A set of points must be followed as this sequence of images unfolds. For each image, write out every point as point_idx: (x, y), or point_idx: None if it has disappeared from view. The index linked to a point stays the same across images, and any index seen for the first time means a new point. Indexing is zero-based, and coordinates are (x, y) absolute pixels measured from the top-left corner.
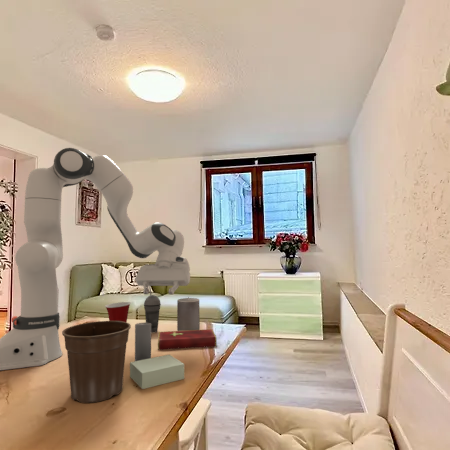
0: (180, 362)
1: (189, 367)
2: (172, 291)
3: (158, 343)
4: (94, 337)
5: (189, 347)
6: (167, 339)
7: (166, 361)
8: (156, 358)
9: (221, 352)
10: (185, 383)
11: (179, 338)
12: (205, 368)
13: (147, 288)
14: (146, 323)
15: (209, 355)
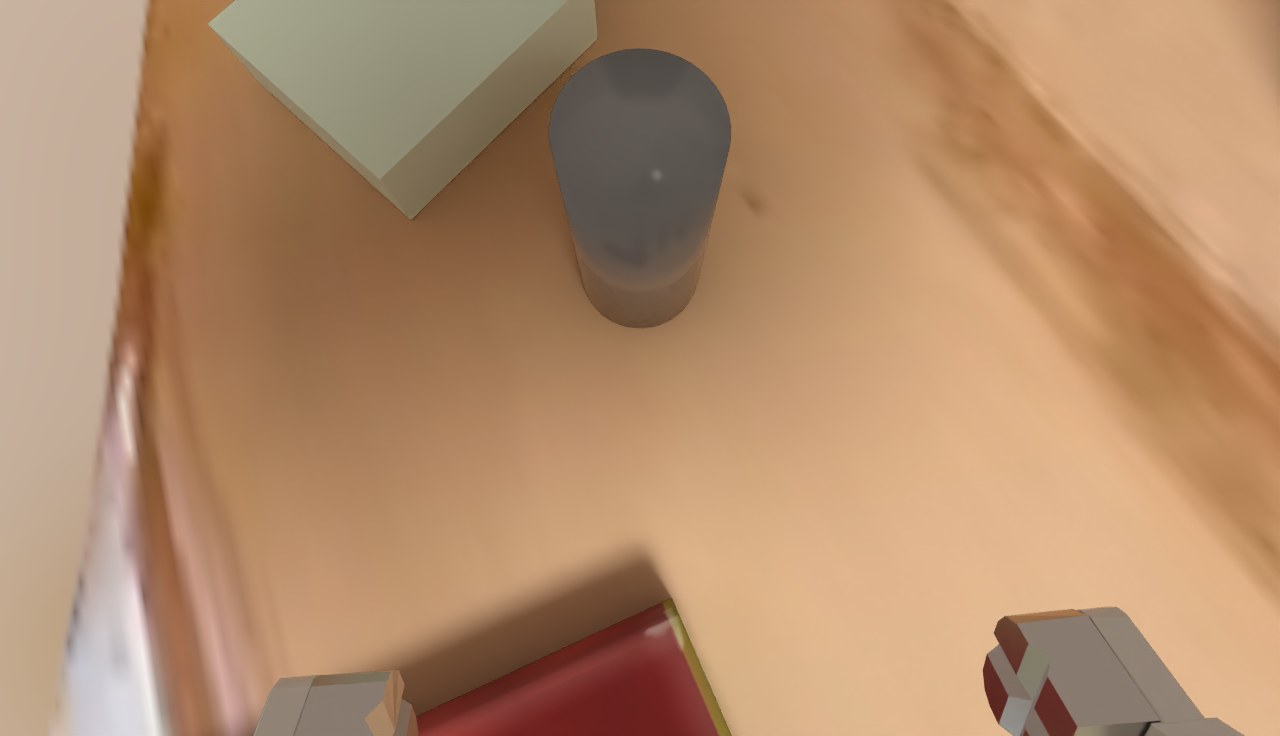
0: (241, 42)
1: (276, 263)
2: (275, 693)
3: (670, 604)
4: None
5: None
6: (592, 654)
7: (346, 39)
8: (442, 80)
9: (88, 658)
10: None
11: (481, 719)
12: (160, 269)
13: (1082, 707)
14: (621, 172)
15: (181, 552)
